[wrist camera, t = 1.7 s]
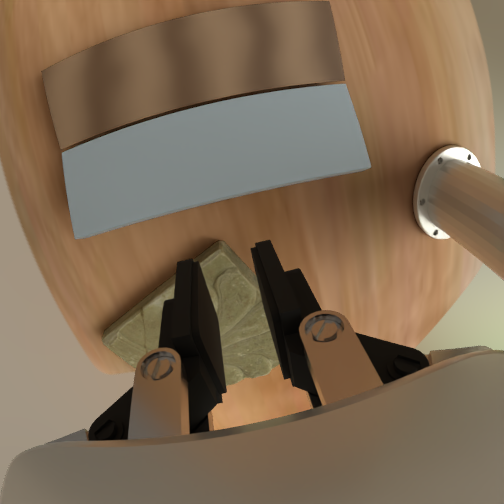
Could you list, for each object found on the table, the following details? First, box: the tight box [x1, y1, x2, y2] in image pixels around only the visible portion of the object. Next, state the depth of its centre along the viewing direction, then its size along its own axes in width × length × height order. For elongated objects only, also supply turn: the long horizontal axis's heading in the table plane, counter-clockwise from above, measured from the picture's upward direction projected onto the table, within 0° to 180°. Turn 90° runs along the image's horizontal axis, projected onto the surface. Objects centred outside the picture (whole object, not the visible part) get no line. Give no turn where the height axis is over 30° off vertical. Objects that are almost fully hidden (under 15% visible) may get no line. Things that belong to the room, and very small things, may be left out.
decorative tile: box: [102, 241, 280, 386], centre depth 37 cm, size 19×20×4 cm
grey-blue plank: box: [62, 84, 371, 239], centre depth 24 cm, size 26×8×2 cm, turn 101°
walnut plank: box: [41, 1, 345, 150], centre depth 22 cm, size 26×8×2 cm, turn 101°
